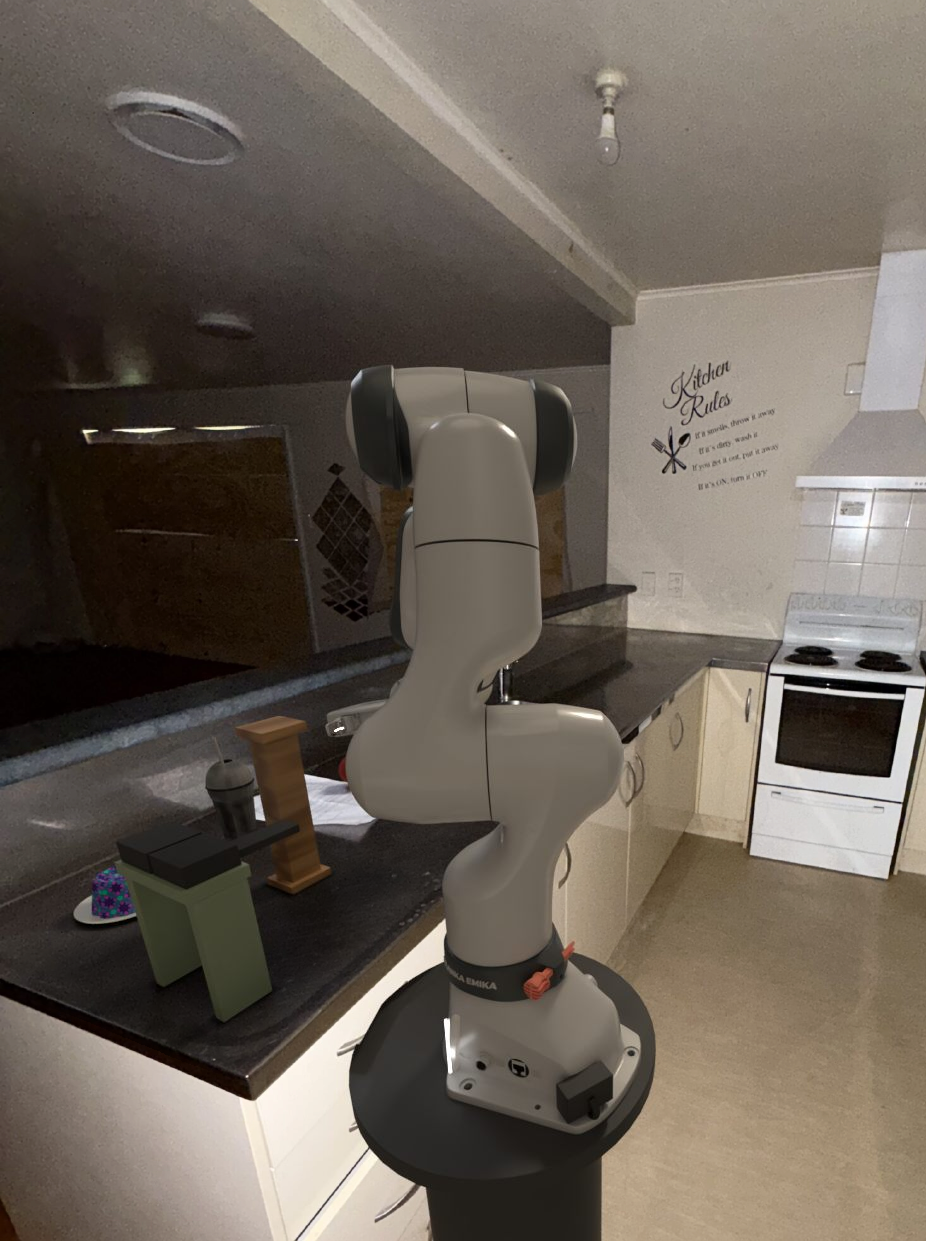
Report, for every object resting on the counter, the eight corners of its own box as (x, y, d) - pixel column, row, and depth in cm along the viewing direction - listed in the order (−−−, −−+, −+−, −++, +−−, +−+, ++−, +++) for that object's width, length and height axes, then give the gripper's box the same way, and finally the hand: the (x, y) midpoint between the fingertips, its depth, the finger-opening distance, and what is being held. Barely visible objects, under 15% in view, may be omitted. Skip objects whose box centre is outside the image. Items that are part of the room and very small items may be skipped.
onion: (371, 780, 139) (366, 745, 136) (369, 789, 133) (364, 754, 131) (343, 782, 137) (337, 747, 134) (339, 792, 132) (334, 756, 129)
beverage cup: (276, 837, 113) (254, 730, 106) (243, 856, 106) (218, 744, 99) (243, 832, 115) (220, 726, 108) (209, 850, 108) (182, 739, 101)
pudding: (52, 926, 87) (40, 894, 86) (119, 881, 99) (110, 851, 97) (135, 929, 87) (125, 897, 85) (193, 884, 98) (185, 854, 96)
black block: (207, 851, 73) (202, 831, 72) (151, 874, 68) (145, 854, 67) (177, 839, 75) (172, 820, 75) (121, 861, 70) (115, 841, 70)
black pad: (308, 834, 77) (305, 815, 76) (186, 889, 65) (180, 868, 64) (276, 823, 80) (273, 805, 79) (154, 875, 68) (148, 854, 67)
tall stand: (331, 873, 101) (305, 721, 92) (293, 894, 95) (261, 733, 86) (306, 864, 104) (279, 715, 95) (267, 884, 98) (234, 727, 89)
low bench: (276, 988, 76) (249, 864, 70) (219, 1025, 70) (184, 894, 64) (209, 953, 82) (179, 836, 76) (152, 985, 76) (114, 862, 70)
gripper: (360, 692, 98) (291, 712, 85) (472, 673, 90) (414, 692, 78) (371, 731, 99) (305, 757, 87) (482, 716, 92) (427, 741, 80)
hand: (358, 726), depth 82 cm, fingers open, 8 cm apart
